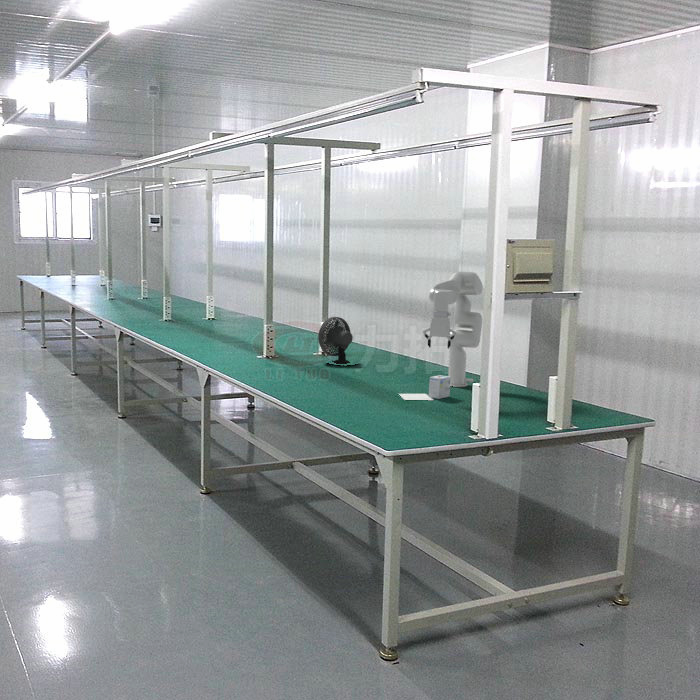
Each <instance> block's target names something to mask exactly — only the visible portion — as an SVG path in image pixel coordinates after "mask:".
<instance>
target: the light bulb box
mask: <svg viewBox="0 0 700 700" xmlns="http://www.w3.org/2000/svg"><path fill="white" fill-rule="evenodd" d="M450 381H451V377H450V376H448V375H443V374H439V375H434V376H433V375H432V376H430V377H429V386H428V396H429V397H431V398H432V399H437V400H440V399H445V398H448V397H450V391H451V386H450Z"/></svg>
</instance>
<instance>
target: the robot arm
mask: <svg viewBox="0 0 700 700" xmlns="http://www.w3.org/2000/svg"><path fill="white" fill-rule="evenodd" d="M483 288H484V286H483V282H482V280H481V279H480V277H479V276H478V274H477V273H476V272H473V271H456V272H454V273H453V274H452V275H451V276H450V277H449V279H448V280H446V281H443V282H439V283H437V284H435V285H434V286H432V289H431V290H430V292H429V294H428V297H429V298H428V299H429V302H431V303H432V304H433V310H432V316H431V319H430V325H429V327H428V328H426V329H424V330H422V333H423V335H424V338H425V339H426V340H427V346H428V348H431V347H432V346H431V344H432V339H431V338H433V337H435V338H436V337H437V338H447V340H448V341H447V349H448V351H449V353H448V355H449V356H448V357H449V358H448V361H449V362H448V375H447V376H450V377H451V381H450V387H452V386H453V387H454V388H465V387H468V383H474V378H467V377H466V371H467V370H466V368H467V367H466V366H467V353H466V351H465V350H464V348H470V349H471V348H472V349H475V348H478V347H479V345H480V342H481V336H482V327H483V316H482V314H481V313H480V312H477V311H471V309H472V308H471V307H472V303H471V301H470V299H469V297H468V296H480V295H481V294H482V292H483V290H484V289H483ZM454 304H455V309H454V316H453V325H454V327H456V328H459V329H451V321H450V317H449V316H451V315H452V313H451V312H449V305H454ZM466 329H467V330H466ZM468 329H469V330H468ZM427 332H429V335H428V333H427Z"/></svg>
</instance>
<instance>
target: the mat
mask: <svg viewBox="0 0 700 700" xmlns="http://www.w3.org/2000/svg"><path fill="white" fill-rule="evenodd" d="M398 394H399V395H400V396H401V397H400V396H399V395H398V396H399V397H400V398H402V399H403V400H404V401H405V400H428V401H434V398H431V397H429V394H427V393H398Z"/></svg>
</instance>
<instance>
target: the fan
mask: <svg viewBox="0 0 700 700" xmlns="http://www.w3.org/2000/svg"><path fill="white" fill-rule="evenodd" d="M353 337H354V336H353V334H352V333H351V328H350V326H349V323H348V322H347V321H346V320H345V319H343V318H342V317H339V316H332V317H329V318H327V319H326V320H324V321H323V323H322V324H321V325H320V328H319V331H318V338H317V339H318V343H319V348H320V349H321V350H322V352H323V353H324V354H326V355H327V356H332V357H337V356H338V359H334V360H335V361H333V360H331V361H332V362H334V363H336V364H347V363H350V362H349V361H350V360H348V359H347V356H346V355H347V353H346V350H347V349H348V347H349V345H350V344H352V342H353Z"/></svg>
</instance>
